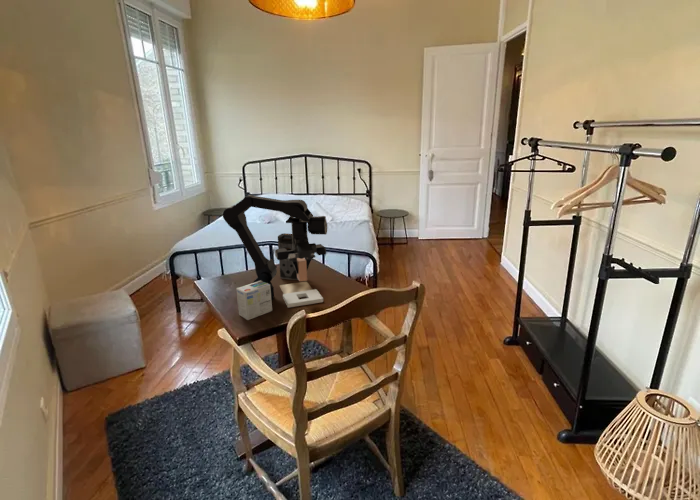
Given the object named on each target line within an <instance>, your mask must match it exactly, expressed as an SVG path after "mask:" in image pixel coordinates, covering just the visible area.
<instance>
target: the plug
mask: <svg viewBox="0 0 700 500" xmlns="http://www.w3.org/2000/svg"><path fill="white" fill-rule="evenodd" d="M297 266H298V274H297V278H298V280H297V281H299V282H308V270H307V265H306V260H305V258H303V259H300V258H297Z"/></svg>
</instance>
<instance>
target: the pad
mask: <svg viewBox="0 0 700 500" xmlns="http://www.w3.org/2000/svg"><path fill="white" fill-rule="evenodd" d="M279 288H280V290H281V292H282V295H283V294H287V293H294V292H300V291H307V290H314V289H313V288H312V287H311V285H310V284H309V282H308V281H299V282H293V283H288V284H287V283H286V284H280V285H279Z"/></svg>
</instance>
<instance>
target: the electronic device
mask: <svg viewBox="0 0 700 500" xmlns="http://www.w3.org/2000/svg"><path fill="white" fill-rule="evenodd" d="M277 246H278V248H277V249H282V248H285V249H286V250H287V251H289V250H293V241H292V233H280V234H278V236H277ZM295 257H296V258H299V257H298V255H295ZM278 262H279V263H278V265H279V278H280V279H282V280H283V279H284V280H290V281H299V280H298V278H297V272H296V270H295V268H294V265H293V263H292V261H290V260H288V258H287V259H284V260H278Z"/></svg>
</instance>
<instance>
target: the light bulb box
mask: <svg viewBox="0 0 700 500" xmlns="http://www.w3.org/2000/svg"><path fill="white" fill-rule="evenodd" d="M253 282H254V281H253ZM253 282H251V283H249V284H246V285H243V286H240V287H239V286H238V287H236V288H235V290H236V298H237V308H238V315H239V316H241V317H242V318H243V319H245V320H246V321H250V320H251V319H255V318H257V317H260V316H262V315H265V314H268V313H271V312H273V305H272V304H273V303H272V301H273V300H271V288H270V284H268V283H265V282H263V281H261V280H260V281H257V282H254V283H253Z"/></svg>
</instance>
